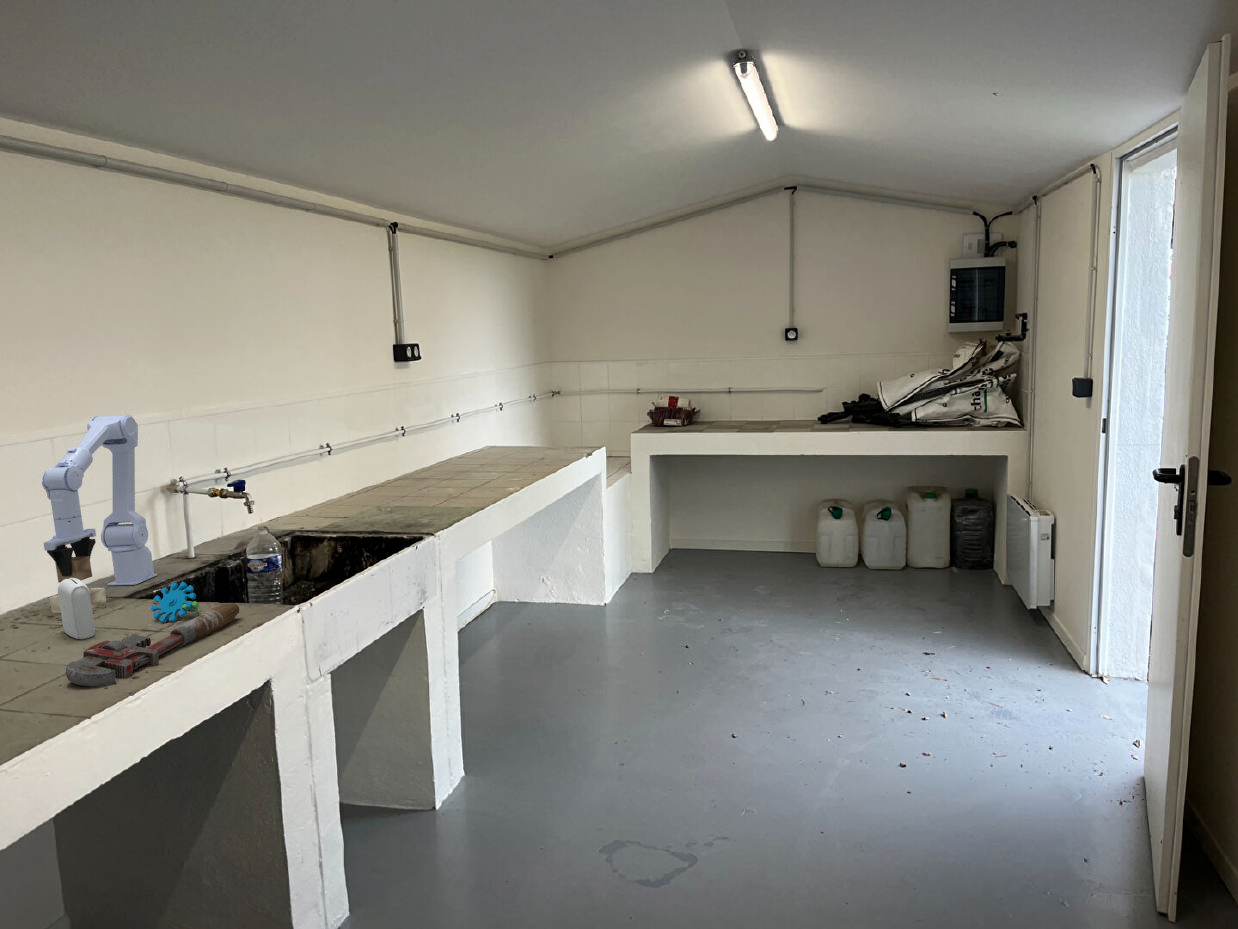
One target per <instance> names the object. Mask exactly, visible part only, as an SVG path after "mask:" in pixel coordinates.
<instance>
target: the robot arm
mask: <svg viewBox="0 0 1238 929" xmlns="http://www.w3.org/2000/svg"><path fill="white" fill-rule="evenodd" d="M86 426H87V427H86V428H87V432H86V434H85V435H84V437H83V438H82V440H81V441H80V444H78V446H73V447H69V448H68V449H67V452H66V453H65V454H64V455H63V457H62V458H61V459H60V460H59V462H57V464H56V465H55V467H49V468H48V469H47V470H45V471H44V472H43V475H42V481H41V486H42V488H43V489H44V491H45V492H46V496H47V497H46V498H48V500H50V505H51V512H52V518H53V524H54V525H53V526H54V532H55V535H52V538H51V539H49V540H46V541H44V542H43V549H44V551H46V552H47V553H46V554H47V555H49V556H50V557H51V558H52V560H53V561H54V564H55V563H56V564H57V566H58V568H59V570H60V572H61V574H62V576H72V557H73V554H74V557H82V556H89V557H90V558H91V556H92V551H93V549H94V547H95V544H96V538H94V537H97V532H96V528H86V529H84V524H83V523H84V522H83V516H82V511H81V503H80V497H79V489H80V488H81V487H82V485H83V478H84V475H85V474H84V473H85V472H86V470H88V468H89V467H90V466H91V464H92V463H93V461H94V459H93V458H94V457H93V454H94V453H95V452H96V451H98V449H99V448H100V447H101V446H102V447H103V448H105V449H107V450H109V451H110V452H111V453H112V455H111V456H112V459H111V460H112V461H111V462H112V468H111V469H112V471H111V472H112V512H111V513H110V514H109V515H108V516H107V517H105V518H104V519H103V524H102V525H103V527H102V530H101V534H100V541H101V543H102V545H103V546H104V547H105V548H107V551H108V552H111V558H112V559H111V560H112V566H113V574H114V580H113V581H110V582H109V583H107V586H134V585H135V586H136V585H137V584H138V585H139V584H140V583H142V582H143V583H144V582H145V581H147V580H150V579H152V578H154V577H156V576H158V574H157V573H155V570H154V564H153V563H154V562H153V556H152V551H151V549H150V548H149V547H148V546H146V544H147V542H148V539H149V530H148V527H147V521H146V518H145V517H144V516H142V515H141V514H139V513H138V512H137V511H136V488H135V487H136V485H135V484H136V483H135V481H136V475H135V473H136V466H135V465H136V464H135V463H136V462H135V460H136V459H135V458H136V457H135V455H136V454H135V451H136V450H135V448H136V447H138V444H139V442H138V441H139V437H138V436H139V435H138V434H139V428H138V427H139V426H138V423H137V422H136V420H135V418H134V417H133V416H132V415H130V414H124V415H105V416H97V415H95V416H92V417H91V418H90V420H89V421H88V422H87V425H86ZM66 545H67V546H66ZM68 545H70V547H68ZM56 564H55V565H56Z"/></svg>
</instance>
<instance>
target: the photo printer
mask: <svg viewBox="0 0 1238 929" xmlns="http://www.w3.org/2000/svg"><path fill="white" fill-rule="evenodd" d="M88 588H89V587H88V586H87V585H86V584H85V582H83V580H82V581H81V580H79V579H76V578H69V579H65V580H63V581H62V582H61V583H59V584H58V585H57V595H58V596H59V603H60V610H61V613H60V615H61V616H60V617H61V620H62V621H61V622H62V628H63V632H64V633H65V634H66V635H68V636H70V637H72V638H74V639H76V640H78V639H79V640H84V639H89V638H91V637H94V635H96V627H95V621H94V614H93V608H92V606H91V599H90V592H89V589H88Z"/></svg>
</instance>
